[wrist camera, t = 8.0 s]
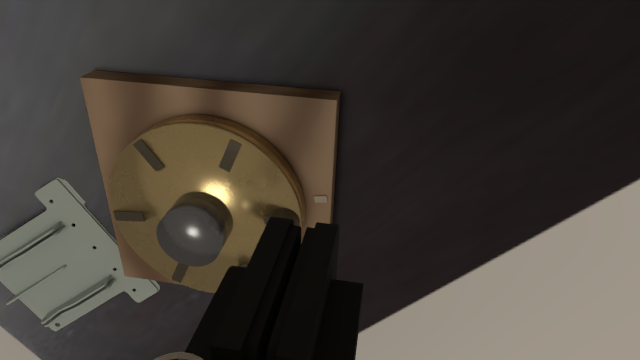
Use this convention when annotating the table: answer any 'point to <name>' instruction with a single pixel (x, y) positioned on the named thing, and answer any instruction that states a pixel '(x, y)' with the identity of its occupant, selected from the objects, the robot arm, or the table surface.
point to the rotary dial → (200, 197)
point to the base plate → (227, 103)
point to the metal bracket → (65, 260)
